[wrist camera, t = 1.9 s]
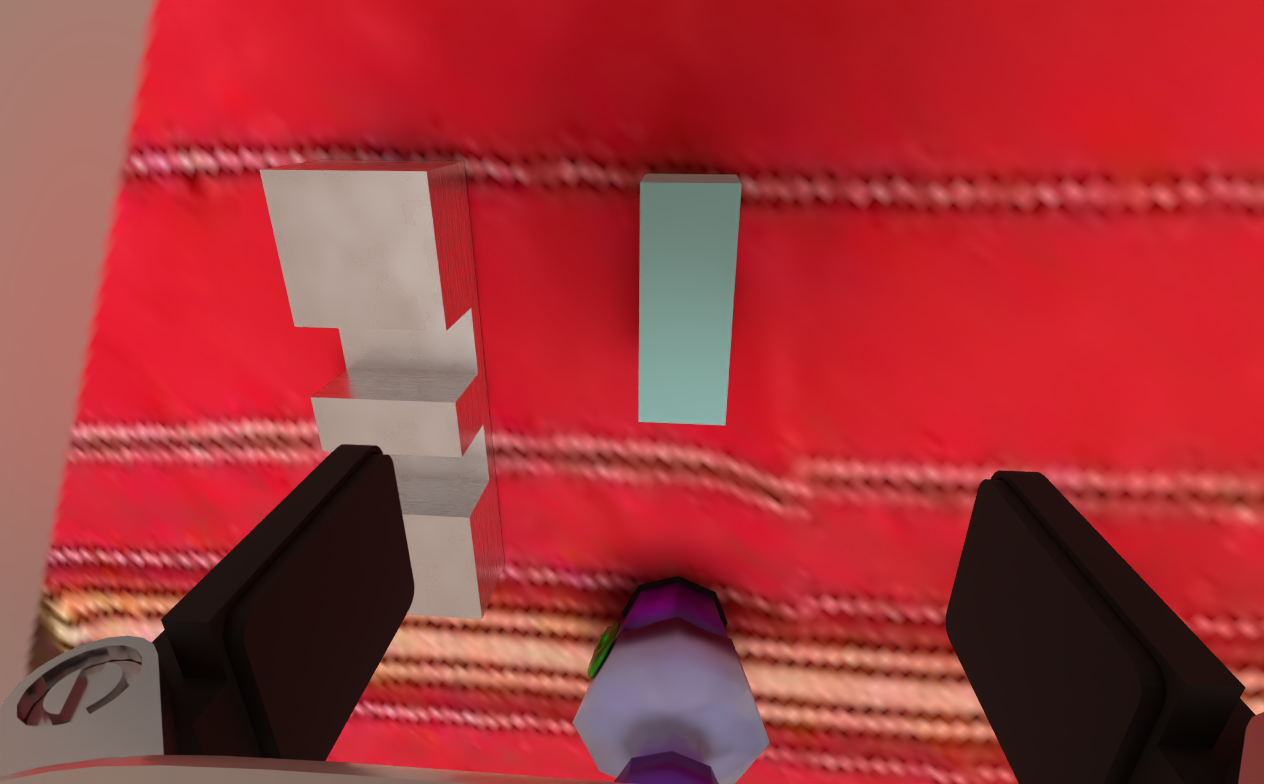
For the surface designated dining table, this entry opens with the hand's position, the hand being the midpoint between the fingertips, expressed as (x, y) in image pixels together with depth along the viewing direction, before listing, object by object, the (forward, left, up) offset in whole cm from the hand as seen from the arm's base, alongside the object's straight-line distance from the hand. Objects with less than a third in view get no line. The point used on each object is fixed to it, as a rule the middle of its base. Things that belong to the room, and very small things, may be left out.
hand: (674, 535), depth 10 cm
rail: (+6, -12, -18) cm, 22 cm away
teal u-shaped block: (0, 0, -18) cm, 18 cm away
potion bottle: (+19, 0, -18) cm, 26 cm away
